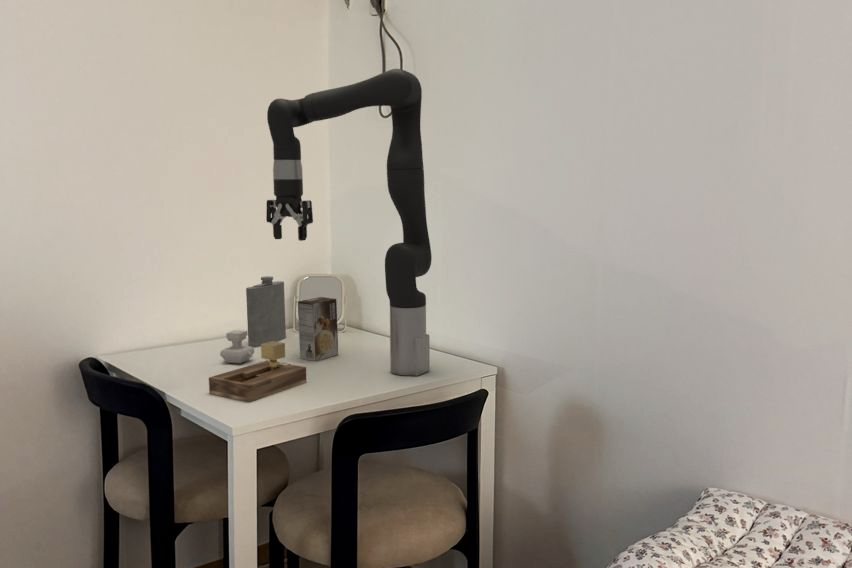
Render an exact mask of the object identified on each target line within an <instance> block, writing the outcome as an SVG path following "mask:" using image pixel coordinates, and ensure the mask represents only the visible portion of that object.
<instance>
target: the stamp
mask: <svg viewBox="0 0 852 568" xmlns="http://www.w3.org/2000/svg"><path fill="white" fill-rule="evenodd" d="M225 335H226V336H225V337H226V339H227V341H228V342H231V343H232V345H231V346H229V347H225V348H223V349H222V350H221V351H220V353H219V356H220V357H221V358H222V359H223V360H224V361H225V362H226V363H229V364H242V363H244V362H247V361H249V360H250V359H251V358H252V357H253V354H254V353H255V348H253V347H250V346H248V345H243V343H242V342H243V341H244V340H246V339H247V337H248V330H240V329H233V330H231V331H229V332H227V333H225Z"/></svg>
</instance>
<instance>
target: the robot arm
mask: <svg viewBox="0 0 852 568" xmlns="http://www.w3.org/2000/svg"><path fill="white" fill-rule="evenodd" d="M422 98H423V96H422V85H421V82H420V81H419V78H418V77H417V76H416V75H415V74H413V73H412V72H409V71H407V70H404V69H402V68H392V69H388V70H386V71H384V72H382V73H380V74H377V75H374V76H371V77H370V78H367V79H365V80H361V81H359V82H355V83H352V84H349V85H343V86H340V87H334V88H330V89H324V90H320V91H315V92H312V93H309V94H307V95H305V96H304V97H303V98H299V99H287V98H276V99H274V100H272V101H271V102H270V104H269V105H268V108H267V115H266V116H267V118H266V119H267V124H268V129H269V133H270V138H271V140H272V144H273V146H272V147H273V148H272V149H273V151H272V152H273V167H272V174H273V175H272V180H273V195H274V196H275V197H276V198H275V199H267V200H266V212H265V213H266V214H265V215H266V220H265V221H266V222H267V223H270V224H271V225H272V234H273V238H274V240H281V239H282V238H283V229H282V222H283V220H284V219H285V218H286V217H289V218H292V219H293V220H294V221H295V222H296V223H297V225H298V226H297V236H298V237H297V239H298V241H300V242H302V241H306V240H307V238H308V237H307V236H308V228H307V227H308V225H310V224H313V223H314V219H313V216H314V215H313V204H312V203H313V202H312V200H302V196H303V195H304V185H303V184H304V183H303V181H304V180H303V178H304V177H303V165H302V151H301V147H302V146H301V140H300V139H299V138H297V137H296V135H295V133H294V128H299V127H303V126H306V125H309V124H312V123H313V122H319V121H324V120H328V119H329V120H330V119H333V118H338V117H341V116H344V115H347V114H349V113H352V112H354V111H357V110H360V109H365V108H369V107H385V106H386V107H387V106H388V107H390V113H391V122H392V133H391V139H390V144H389V149H388V153H387V156H386V157H387V159H386V177H387V178H386V180H387V181H386V182H387V188H388V189H387V190H388V194H389V197H390V199H391V201H392V203H393V206H394V207H395V209H396V211H397V213H398V215H399V217H400V221H401V225H402V238H403V239H402V241H403V242H397V243H395V244H392V245H391V246H390V247H389V248H387V251H386V254H385V256H384V257H385V258H384V276H385V289H386V294H387V297H388V300H389V352H390V353H389V356H390V357H389V358H390V359H389V361H390V373H391V374H395V375H398V376H415V377H418V376H420V375H422V374H424V373H427V372H430V370H431V368H430V366H431V365H430V363H431V361H430V359H431V357H430V354H431V353H430V349H431V348H430V334H428V333H427V296H426V294H425V293H424V292H422V291H420V290H418V289H419V288H418V287H417V278H418V277H419V278H420V277H422V276H425V275H426V274H427V273H428V272H429V271H430V268H431V266H432V250H431V243H430V237H429V236H430V235H429V230H428V223H427V209H426V197H425V194H426V193H425V192H426V191H425V170H424V161H423V160H424V158H423V143H422V133H421V132H422V130H421V118H422V117H421V116H422V115H421V114H422V100H423V99H422Z"/></svg>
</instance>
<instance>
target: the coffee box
mask: <svg viewBox="0 0 852 568" xmlns="http://www.w3.org/2000/svg"><path fill="white" fill-rule="evenodd" d="M337 303H338V302H337V298H331V297H322V296H320V297H314V298H309V299H308V298H307V299H303V300H299V301H297V312H298V313H297V314H298V315H297V316H298V335H299V336H298V337H299V338H298V339H299V341H298V342H299V358H300V359H303V360H309V361H313V362H319V361H321V360H324V359H328V358H331V357H334V356H338V355H339V337H338V331H339V330H338V308H337V305H338V304H337Z"/></svg>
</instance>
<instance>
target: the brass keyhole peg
mask: <svg viewBox="0 0 852 568" xmlns="http://www.w3.org/2000/svg"><path fill="white" fill-rule="evenodd" d="M285 343H286V342H281V341H277V342H276V341H271V342H267V343H263V344H261V346H260V355H261V356H260V357H261V358H260V359H263V360H268V361H270V371H271V370H275V369H277V362H278V360H280V359H282V358H283V359H284V358H286V345H285Z"/></svg>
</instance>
